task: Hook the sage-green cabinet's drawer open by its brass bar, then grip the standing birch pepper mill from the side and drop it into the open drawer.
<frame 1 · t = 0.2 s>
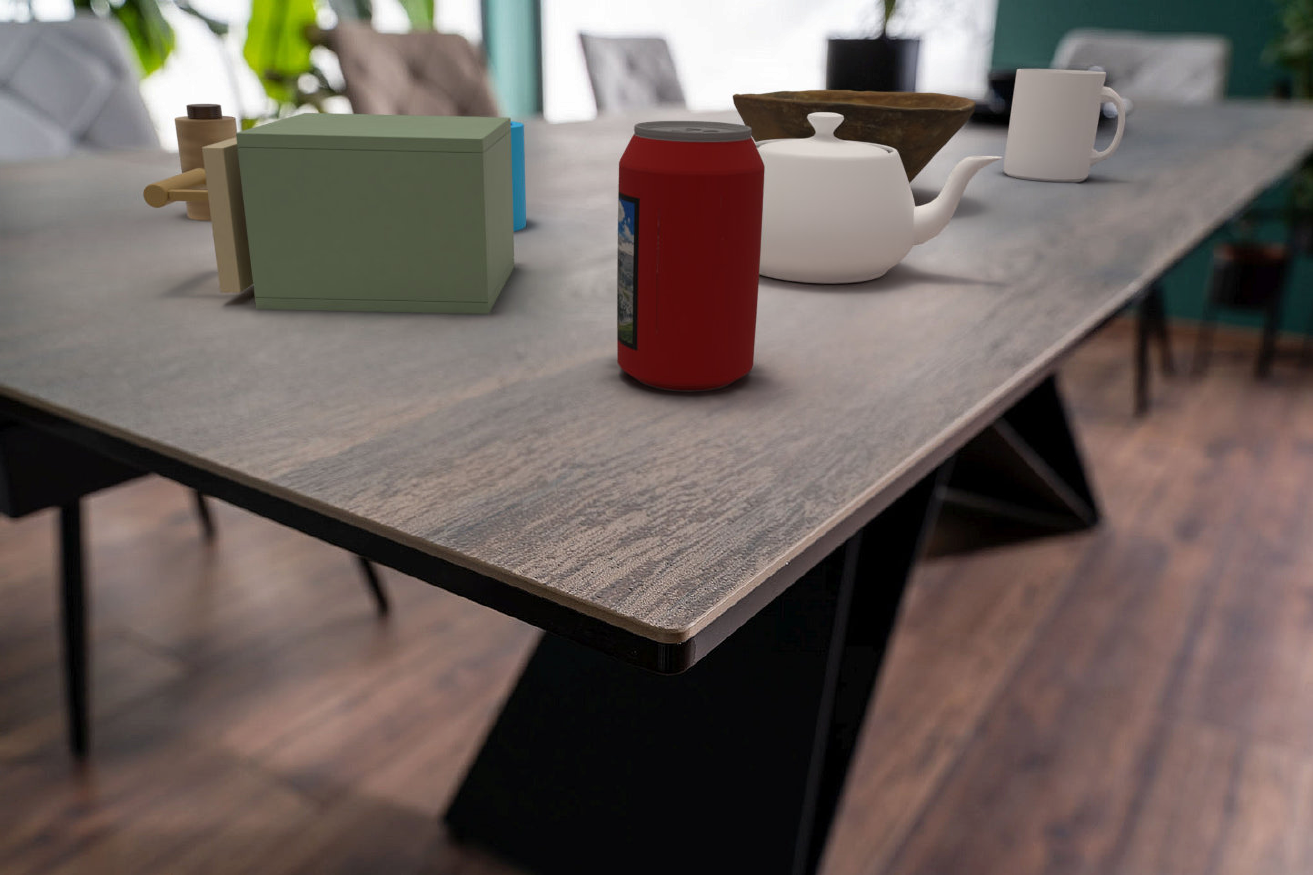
mug 2: (1055, 179, 125), on the table
teapot: (823, 274, 76), on the table
cabinet: (396, 287, 69), on the table
pepper mill: (217, 217, 90), on the table
drawer: (308, 206, 67), point 5 cm above the table, slide at 1.0 cm
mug: (469, 225, 90), on the table
bowl: (842, 202, 106), on the table
beverage can: (684, 381, 53), on the table
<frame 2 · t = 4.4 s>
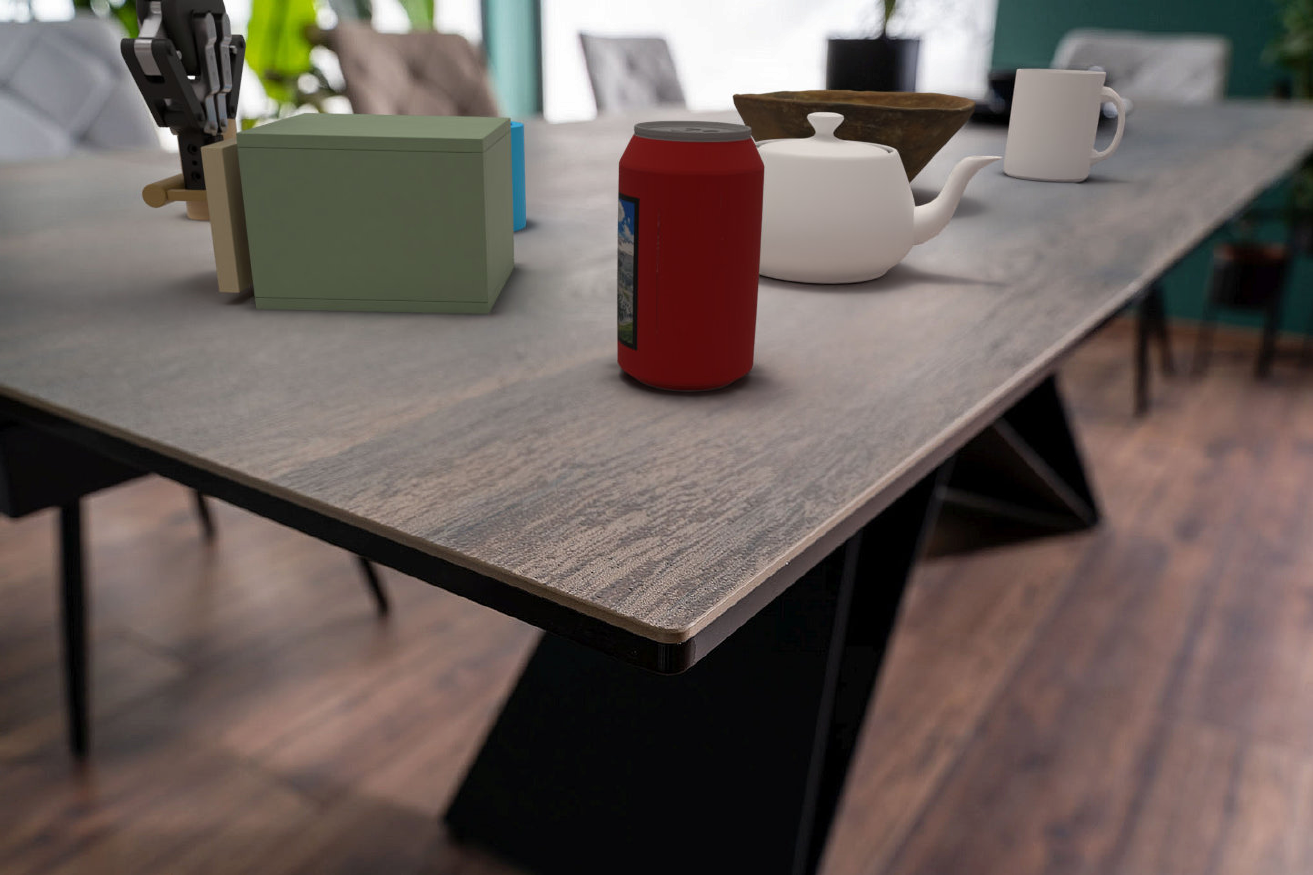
hand: (208, 196, 67), 5 cm above the table, tool pointing down, fingers closed
drawer: (307, 206, 67), point 5 cm above the table, slide at 1.1 cm, touching gripper
everything else where it was.
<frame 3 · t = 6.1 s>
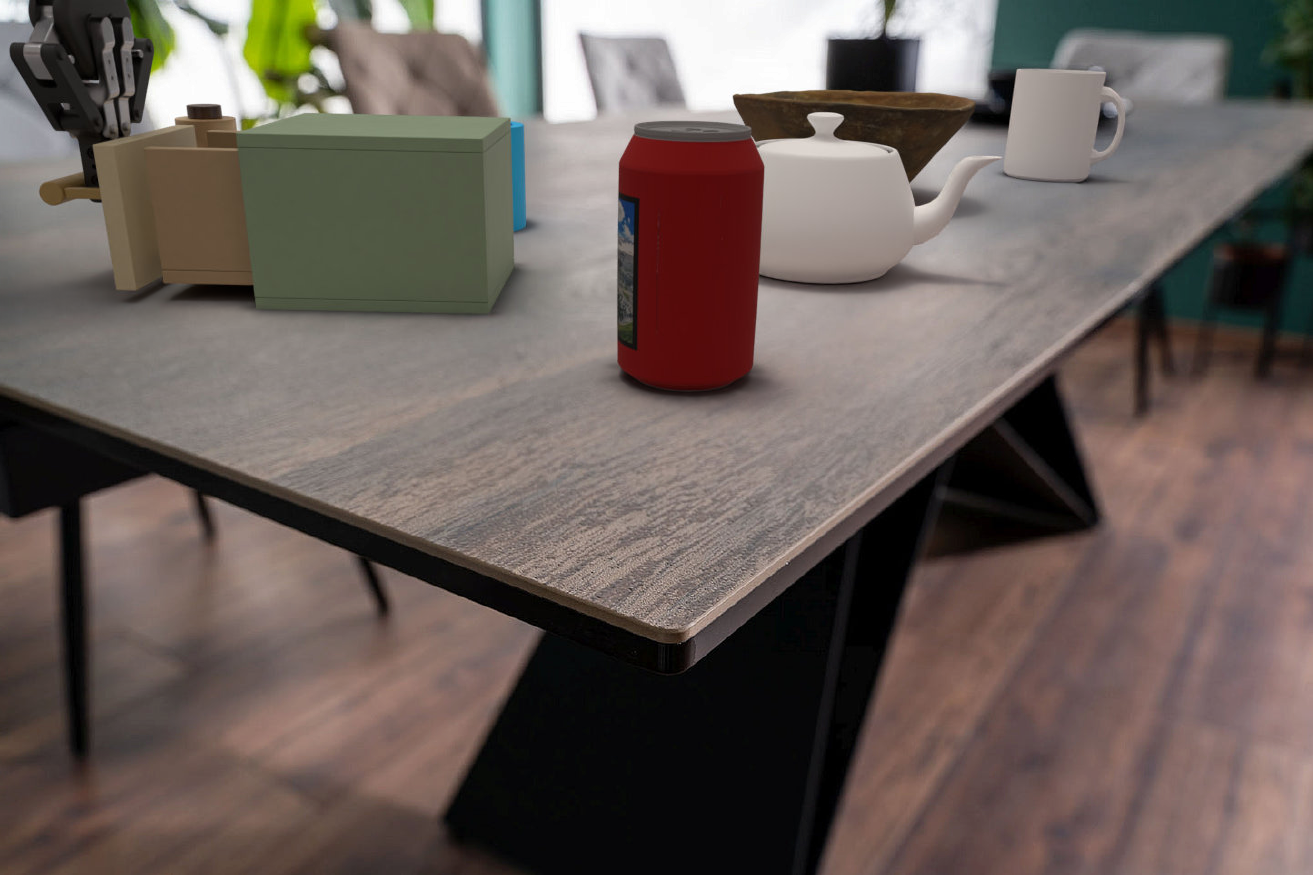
hand: (111, 200, 67), 5 cm above the table, tool pointing down, fingers closed
drawer: (210, 204, 67), point 5 cm above the table, slide at 7.1 cm
everything else where it was.
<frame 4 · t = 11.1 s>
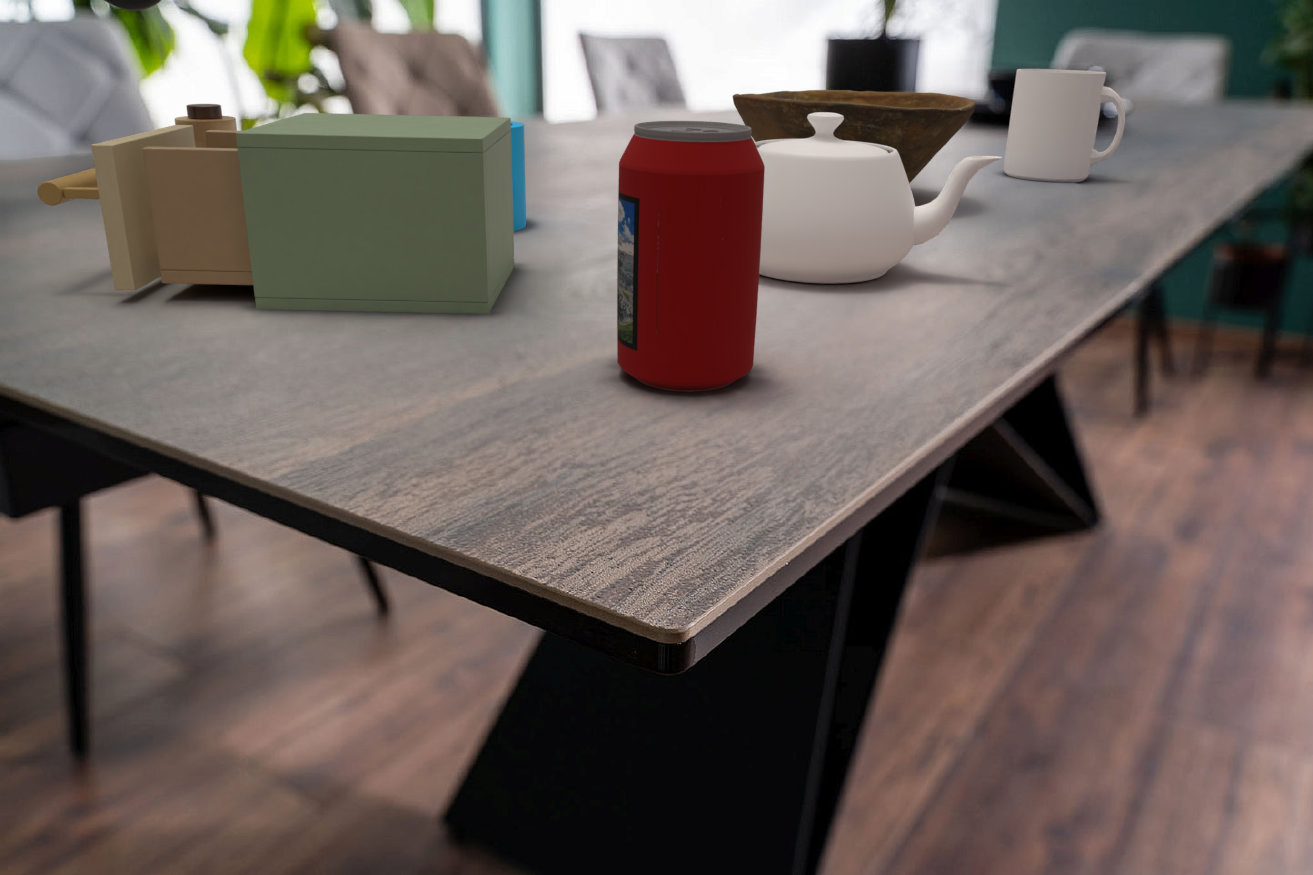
nothing on the table moved.
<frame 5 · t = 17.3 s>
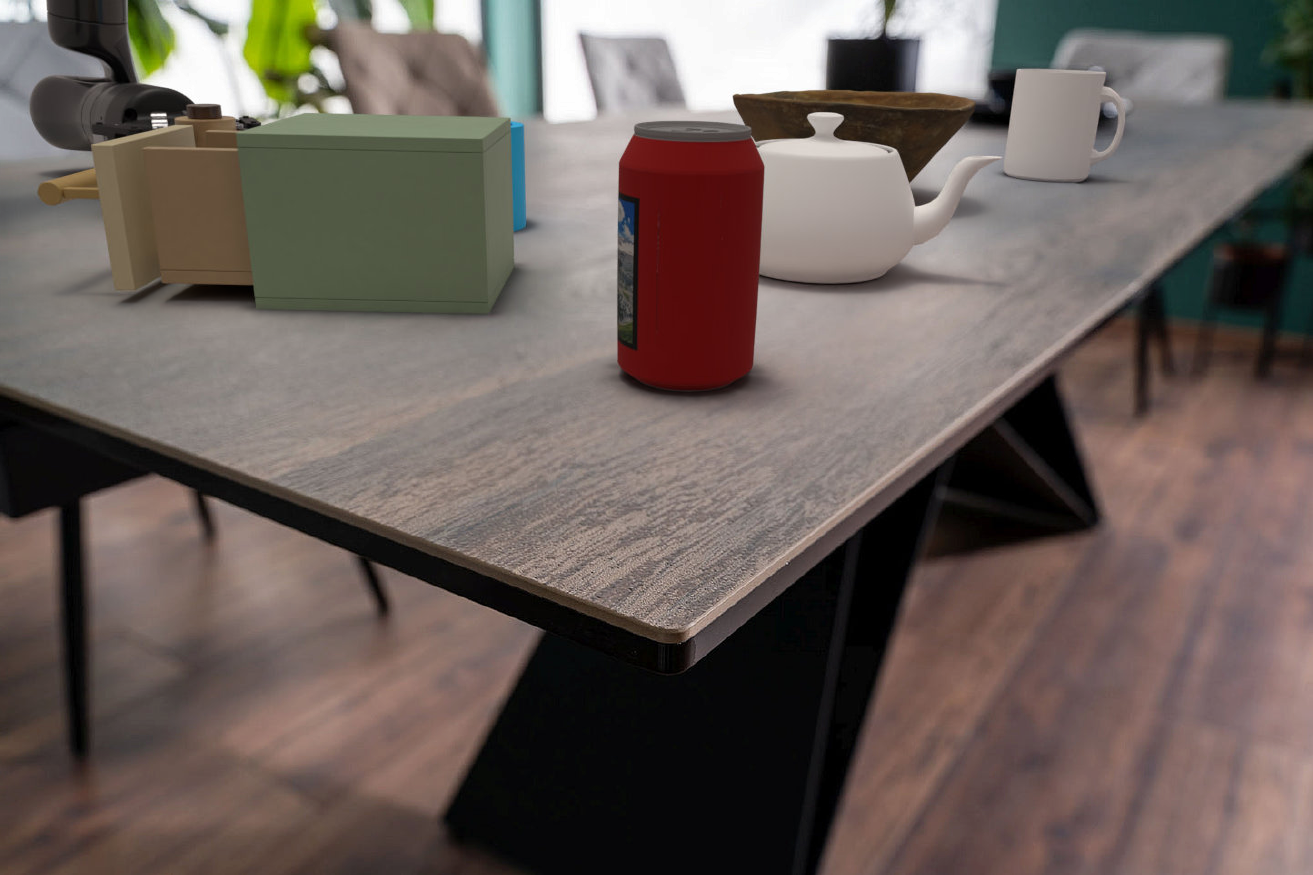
hand: (221, 146, 86), 6 cm above the table, tool horizontal, fingers closed on pepper mill, 4 cm apart
pepper mill: (217, 217, 90), on the table, touching gripper
everything else where it was.
when the fingers open (16 cm above the table, at t = 23.9 s): pepper mill stays where it is, resting on cabinet.
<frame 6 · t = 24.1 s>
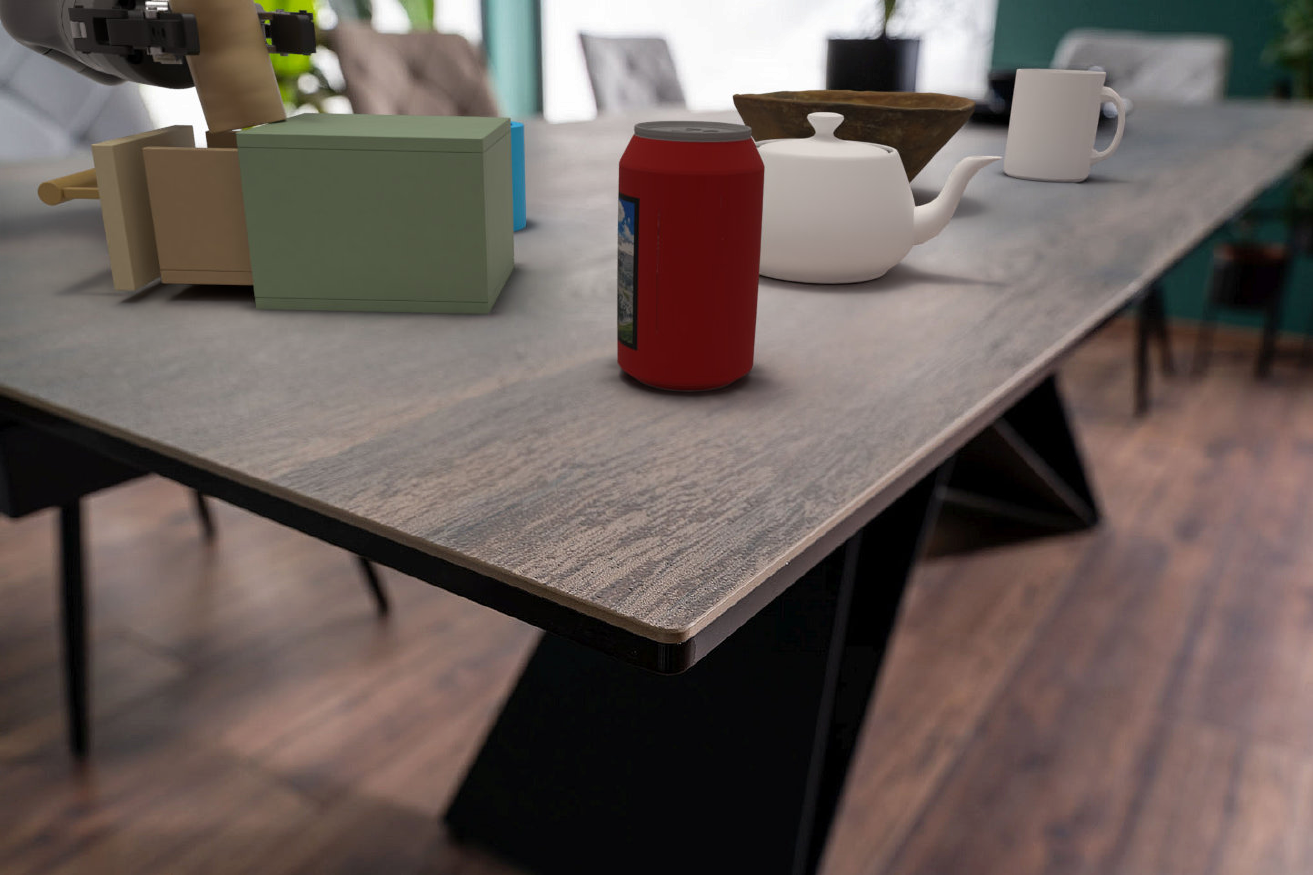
hand: (251, 34, 62), 15 cm above the table, tool horizontal, fingers open, 6 cm apart
pepper mill: (249, 126, 65), point 10 cm above the table, tilted 11°, touching cabinet, gripper
everything else where it was.
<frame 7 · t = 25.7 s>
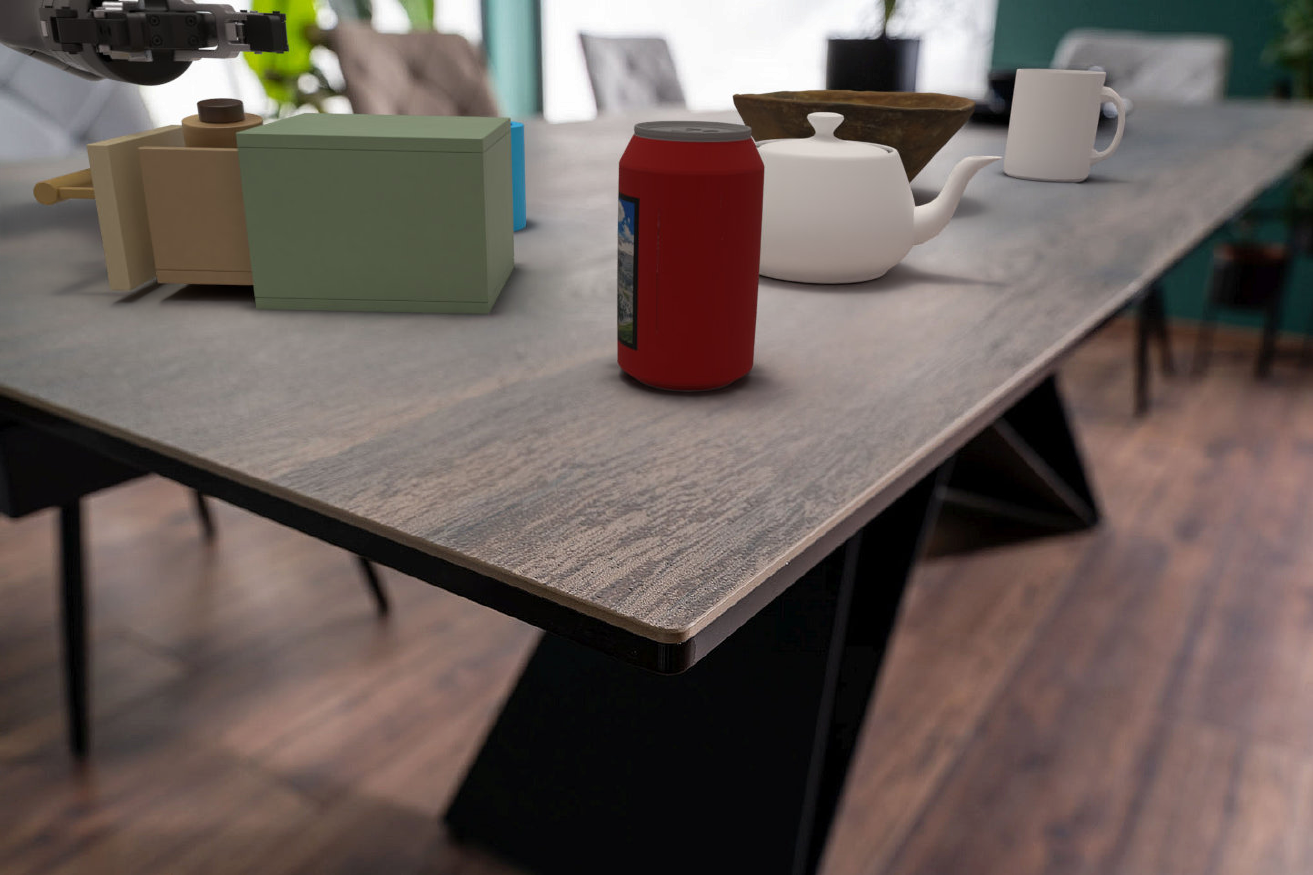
hand: (210, 33, 66), 15 cm above the table, tool horizontal, fingers open, 8 cm apart
pepper mill: (240, 247, 69), point 2 cm above the table, tilted 6°, touching drawer
drawer: (205, 204, 67), point 5 cm above the table, slide at 7.4 cm, touching pepper mill
everything else where it was.
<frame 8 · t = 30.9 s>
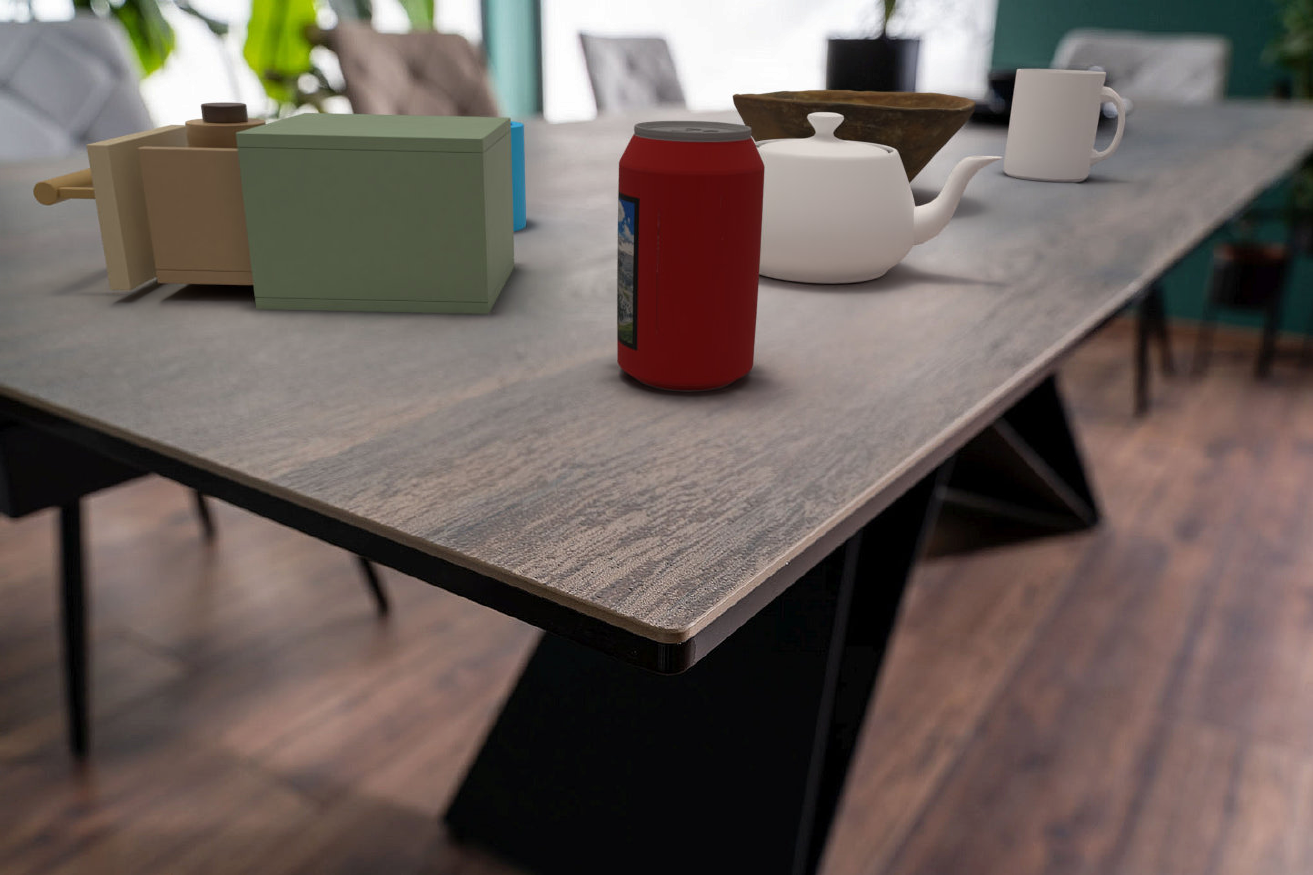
pepper mill: (241, 251, 69), point 2 cm above the table, touching drawer
everything else where it was.
at the end: drawer slide at 7.4 cm; pepper mill inside the target area in the drawer (4.5 cm from its centre), point 2.0 cm above the cabinet's base; the gripper is holding nothing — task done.
